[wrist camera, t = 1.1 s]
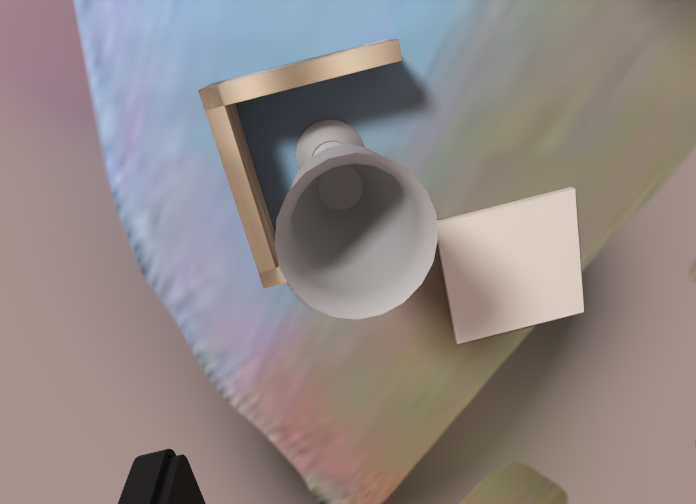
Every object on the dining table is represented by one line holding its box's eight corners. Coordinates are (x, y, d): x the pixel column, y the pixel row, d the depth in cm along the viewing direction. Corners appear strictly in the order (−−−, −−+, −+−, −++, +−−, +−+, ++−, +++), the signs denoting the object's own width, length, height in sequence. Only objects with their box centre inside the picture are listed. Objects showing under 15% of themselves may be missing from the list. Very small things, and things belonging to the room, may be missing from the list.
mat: (571, 186, 41) (575, 188, 41) (580, 308, 45) (584, 312, 45) (433, 221, 41) (435, 224, 41) (455, 340, 45) (457, 344, 45)
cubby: (385, 39, 36) (398, 39, 32) (420, 221, 41) (436, 244, 37) (210, 84, 36) (198, 90, 32) (267, 260, 41) (263, 288, 37)
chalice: (280, 104, 37) (268, 155, 20) (377, 102, 38) (442, 149, 21) (285, 205, 40) (279, 323, 23) (376, 202, 40) (434, 315, 24)
